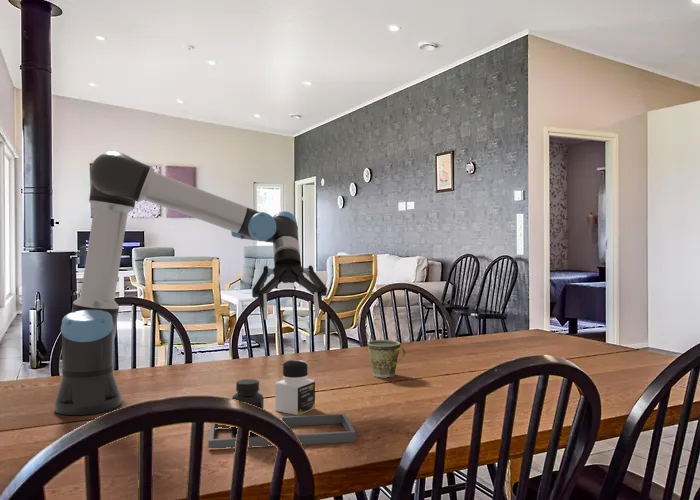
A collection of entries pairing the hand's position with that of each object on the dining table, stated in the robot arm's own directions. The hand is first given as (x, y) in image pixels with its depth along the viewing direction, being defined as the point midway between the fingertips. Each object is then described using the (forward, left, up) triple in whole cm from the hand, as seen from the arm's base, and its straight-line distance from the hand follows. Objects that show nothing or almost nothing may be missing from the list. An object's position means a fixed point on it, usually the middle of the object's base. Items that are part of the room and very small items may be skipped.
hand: (291, 315), depth 157 cm
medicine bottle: (-3, -10, -22) cm, 24 cm away
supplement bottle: (-19, -24, -22) cm, 38 cm away
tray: (-12, -26, -22) cm, 36 cm away
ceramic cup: (+34, +10, -22) cm, 42 cm away
